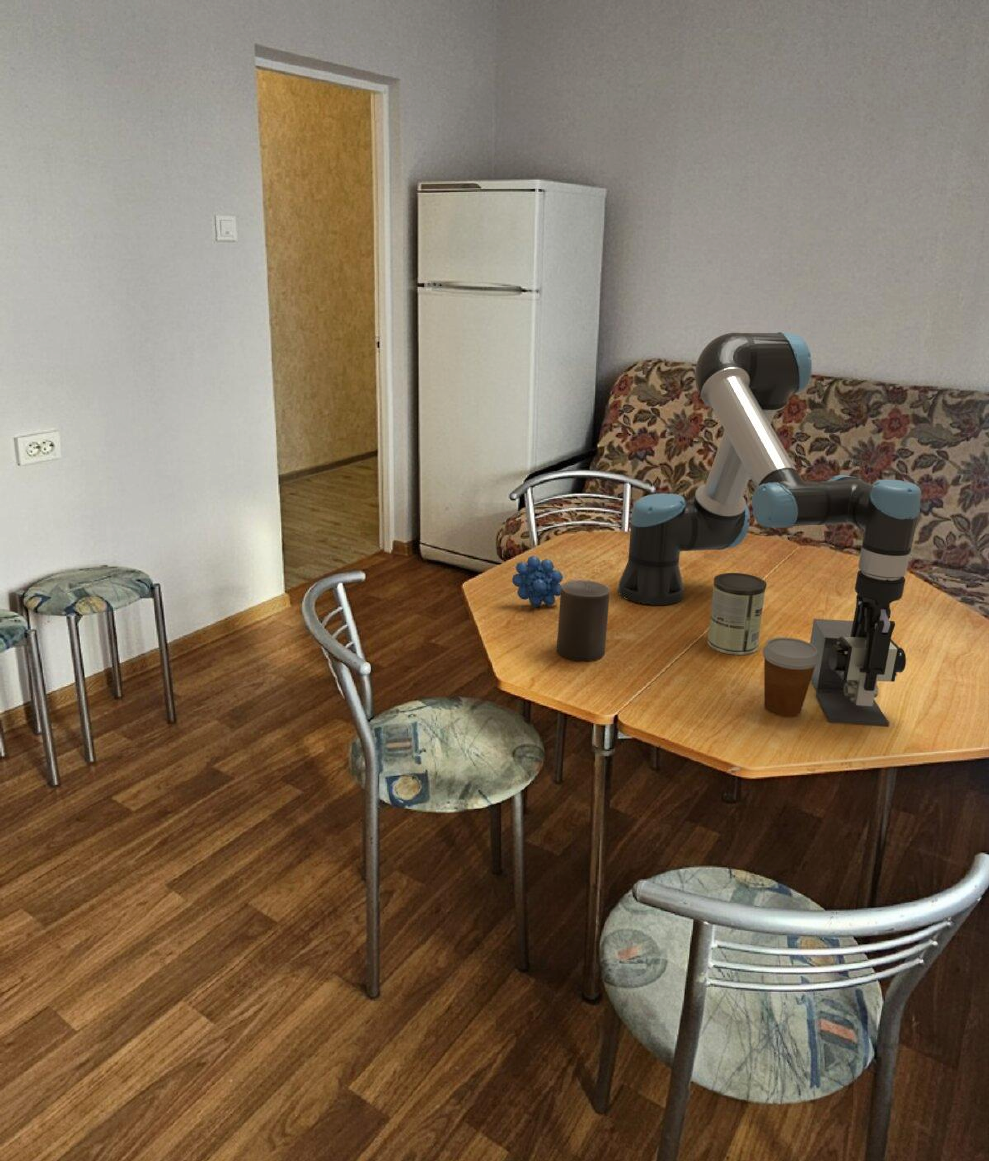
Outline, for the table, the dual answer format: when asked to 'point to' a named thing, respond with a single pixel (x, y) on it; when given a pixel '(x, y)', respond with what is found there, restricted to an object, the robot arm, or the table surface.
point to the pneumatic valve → (862, 663)
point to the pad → (850, 710)
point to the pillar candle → (583, 620)
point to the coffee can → (736, 613)
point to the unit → (823, 639)
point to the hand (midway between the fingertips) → (859, 696)
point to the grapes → (537, 581)
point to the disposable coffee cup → (787, 674)
